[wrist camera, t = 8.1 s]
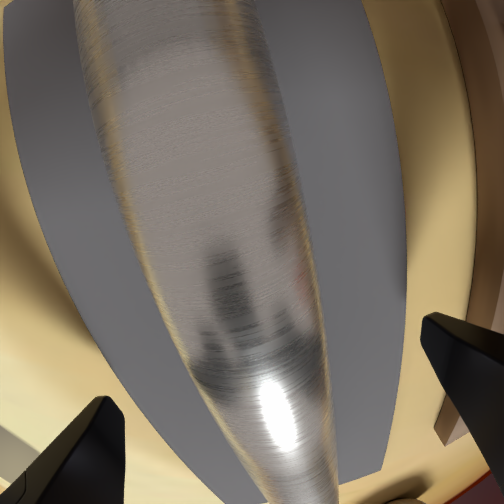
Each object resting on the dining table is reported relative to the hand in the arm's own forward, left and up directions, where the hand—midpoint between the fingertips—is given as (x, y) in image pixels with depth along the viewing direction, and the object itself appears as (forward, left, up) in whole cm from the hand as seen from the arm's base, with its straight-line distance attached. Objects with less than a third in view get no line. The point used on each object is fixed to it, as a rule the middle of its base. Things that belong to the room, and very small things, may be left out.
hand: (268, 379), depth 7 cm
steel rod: (0, 0, -1) cm, 1 cm away
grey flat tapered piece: (0, 0, -2) cm, 2 cm away
